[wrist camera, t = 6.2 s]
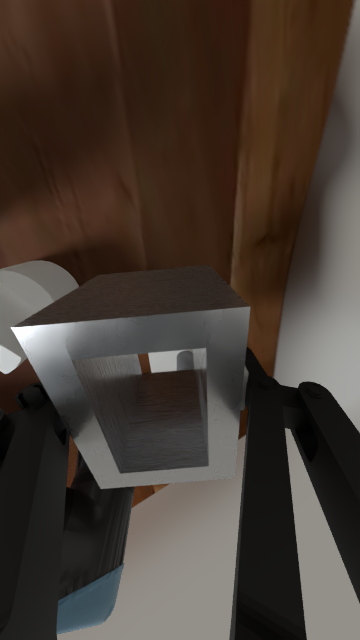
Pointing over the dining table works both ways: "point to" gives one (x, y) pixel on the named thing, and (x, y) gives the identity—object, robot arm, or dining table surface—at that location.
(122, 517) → the robot arm
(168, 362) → the keeper board
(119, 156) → the dining table surface
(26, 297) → the cylinder with rectangular tab
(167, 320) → the steel link
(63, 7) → the dining table surface
